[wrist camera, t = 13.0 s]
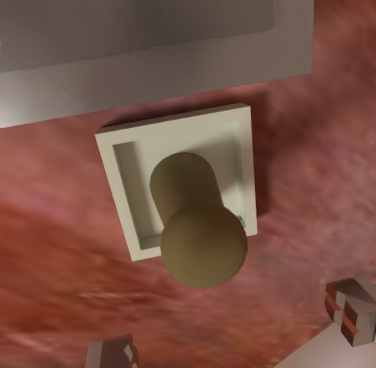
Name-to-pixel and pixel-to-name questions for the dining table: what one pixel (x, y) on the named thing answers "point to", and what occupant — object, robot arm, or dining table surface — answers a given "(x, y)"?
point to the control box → (142, 51)
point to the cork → (196, 223)
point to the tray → (171, 144)
